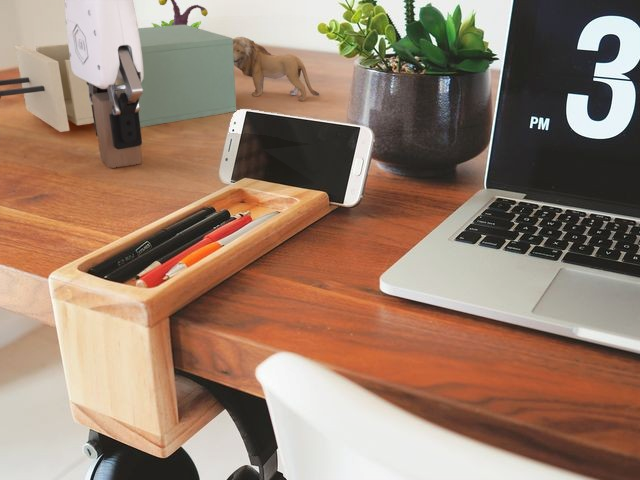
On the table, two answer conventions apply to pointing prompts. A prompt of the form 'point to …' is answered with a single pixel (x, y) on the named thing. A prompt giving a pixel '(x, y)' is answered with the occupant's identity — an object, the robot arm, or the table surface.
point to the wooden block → (104, 134)
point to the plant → (181, 18)
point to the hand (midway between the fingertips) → (118, 139)
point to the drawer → (52, 86)
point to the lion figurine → (268, 66)
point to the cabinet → (185, 74)
